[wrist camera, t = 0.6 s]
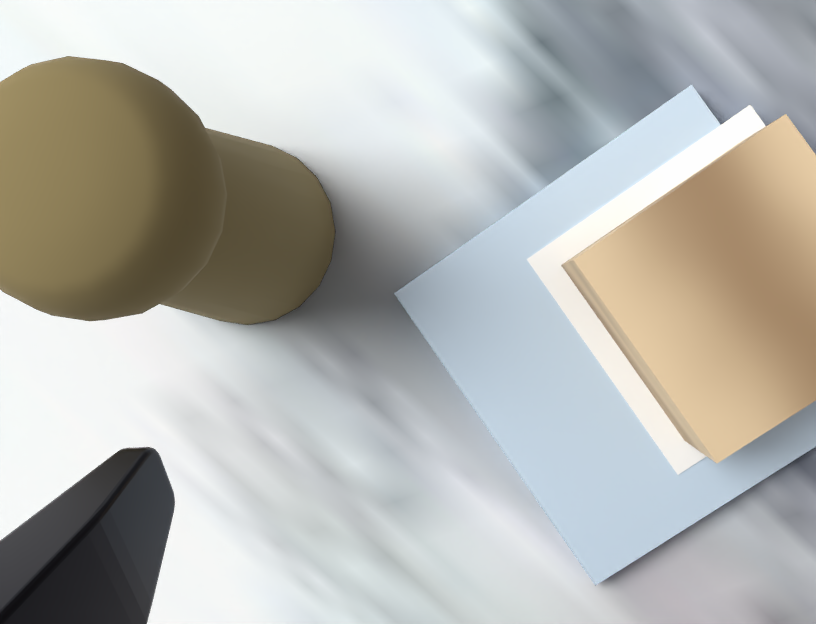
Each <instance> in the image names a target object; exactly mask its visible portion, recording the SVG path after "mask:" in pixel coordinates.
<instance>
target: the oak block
mask: <svg viewBox="0 0 816 624" xmlns="http://www.w3.org/2000/svg"><path fill="white" fill-rule="evenodd" d="M561 266H562V267H563V269H564V270H565V271H566V273H567V274H568V276H569V277H570V279H571V280H572V281H573V283H574V284H575V286H576V287H577V289H578V290H579V291H580V293H581V294H582V296H583V297H584V298H585V300H586V301H587V303H588V304H589V306H590V307H591V308H592V310H593V311H594V313H595V314H596V316H597V317H598V318H599V320H600V321H601V323H602V324H603V325H604V327H605V328H606V330H607V331H608V333H609V334H610V335H611V337H612V338H613V340H614V341H615V343H616V344H617V345H618V347H619V348H620V350H621V351H622V352H623V354H624V355H625V357H626V358H627V360H628V361H629V362H630V364H631V365H632V367H633V368H634V370H635V371H636V372H637V374H638V375H639V377H640V378H641V379H642V381H643V382H644V384H645V385H646V387H647V388H648V389H649V391H650V392H651V394H652V395H653V397H654V398H655V399H656V401H657V402H658V404H659V405H660V406H661V408H662V409H663V411H664V412H665V414H666V415H667V416H668V418H669V419H670V421H671V422H672V424H673V425H674V426H675V428H676V429H677V431H678V432H679V433H680V435H681V436H682V438H683V439H684V441H686V442H687V443H688V444H690V445H691V446H693V447H694V448H696V449H697V450H698V451H700V452H701V453H703V454H704V455H705V456H707V457H708V458H710V459H711V460H713V461H714V462H715V463H719V462H720V461H722V460H723V459H725V458H727V457H728V456H730V455H731V454H733V453H734V452H736V451H737V450H739V449H741V448H742V447H744V446H745V445H747V444H748V443H750V442H752V441H753V440H755V439H756V438H758V437H759V436H761V435H763V434H764V433H766V432H767V431H769V430H770V429H772V428H774V427H775V426H777V425H778V424H780V423H781V422H783V421H784V420H786V419H788V418H789V417H791V416H792V415H794V414H795V413H797V412H799V411H800V410H802V409H803V408H805V407H806V406H808V405H810V404H811V403H813V402H814V401H816V155H815V153H814V152H813V151H812V149H811V148H810V146H809V145H808V144H807V142H806V141H805V140H804V138H803V137H802V135H801V134H800V133H799V131H798V130H797V129H796V127H795V126H794V124H793V123H792V122H791V120H790V119H789V118H788V116H787V115H786V114H785V115H784V116H782V117H780V118H779V119H777V120H775V121H774V122H772V123H771V124H769V125H767V126H766V127H764V128H762V129H761V130H759V131H757V132H756V133H754V134H752V135H751V136H749V137H748V138H746V139H744V140H743V141H741V142H740V143H738V144H737V145H735V146H734V147H733V148H731V149H730V150H728V151H727V152H725V153H724V154H722V155H721V156H719V157H718V158H717V159H715V160H714V161H712V162H711V163H709V164H708V165H706V166H705V167H703V168H702V169H700V170H699V171H698V172H696V173H695V174H693V175H692V176H690V177H689V178H687V179H686V180H684V181H683V182H682V183H680V184H679V185H677V186H676V187H674V188H673V189H671V190H670V191H668V192H667V193H666V194H664V195H663V196H661V197H660V198H658V199H657V200H655V201H654V202H652V203H651V204H650V205H648V206H647V207H645V208H644V209H642V210H641V211H639V212H638V213H636V214H635V215H633V216H632V217H631V218H629V219H628V220H626V221H625V222H623V223H622V224H620V225H619V226H617V227H616V228H615V229H613V230H612V231H610V232H609V233H607V234H606V235H604V236H603V237H601V238H600V239H599V240H597V241H596V242H594V243H593V244H591V245H590V246H588V247H587V248H585V249H584V250H582V251H581V252H580V253H578V254H577V255H575V256H574V257H572V258H571V259H569V260H568V261H566V262H565V263H564V264H562V265H561Z"/></svg>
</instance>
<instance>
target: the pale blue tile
mask: <svg viewBox="0 0 816 624" xmlns="http://www.w3.org/2000/svg"><path fill="white" fill-rule="evenodd" d="M764 127H766V126H765V124H764V123H763V122H762V120H761V119H760V117H759V116H758V115H757V113H756V112H755V111H754V109H753V108H752V106H751V105H749V106H748V107H746V108H745V109H743V110H742V111H740V112H739V113H738V114H736V115H735V116H733V117H732V118H730V119H729V120H727V121H726V122H725V123H723V124H722V125H720V123H719V122H718V120H717V119H716V118H715V116H714V115H713V114H712V112H711V111H710V109H709V108H708V107H707V105H706V104H705V102H704V101H703V100H702V98H701V97H700V96H699V94H698V93H697V91H696V90H695V89H694V87H693V86H692V85H690V86H689V87H688V88H686V89H685V90H683V91H682V92H681V93H679V94H678V95H676V96H675V97H673V98H672V99H671V100H669V101H668V102H666V103H665V104H663V105H662V106H661V107H659V108H658V109H656V110H655V111H653V112H652V113H651V114H649V115H648V116H646V117H645V118H643V119H642V120H641V121H639V122H638V123H636V124H635V125H633V126H632V127H631V128H629V129H628V130H626V131H625V132H623V133H622V134H621V135H619V136H618V137H616V138H615V139H613V140H612V141H611V142H609V143H608V144H606V145H605V146H603V147H602V148H601V149H599V150H598V151H596V152H595V153H593V154H592V155H591V156H589V157H588V158H586V159H585V160H583V161H582V162H581V163H579V164H578V165H576V166H575V167H573V168H572V169H571V170H569V171H568V172H566V173H565V174H563V175H562V176H561V177H559V178H558V179H556V180H555V181H554V182H552V183H551V184H549V185H548V186H546V187H545V188H544V189H542V190H541V191H539V192H538V193H536V194H535V195H534V196H532V197H531V198H529V199H528V200H526V201H525V202H524V203H522V204H521V205H519V206H518V207H516V208H515V209H514V210H512V211H511V212H509V213H508V214H506V215H505V216H504V217H502V218H501V219H499V220H498V221H496V222H495V223H494V224H492V225H491V226H489V227H488V228H486V229H485V230H484V231H482V232H481V233H479V234H478V235H476V236H475V237H474V238H472V239H471V240H469V241H468V242H466V243H465V244H464V245H462V246H461V247H459V248H458V249H456V250H455V251H454V252H452V253H451V254H449V255H448V256H446V257H445V258H444V259H442V260H441V261H439V262H438V263H436V264H435V265H434V266H432V267H431V268H429V269H428V270H427V271H425V272H424V273H422V274H421V275H419V276H418V277H417V278H415V279H414V280H412V281H411V282H409V283H408V284H407V285H405V286H404V287H402V288H401V289H399V290H398V291H397V292H395V293H394V294H395V296H396V297H397V299H398V300H399V302H400V303H401V304H402V306H403V307H404V309H405V310H406V312H407V313H408V315H409V316H410V318H411V319H412V320H413V322H414V323H415V325H416V326H417V328H418V329H419V331H420V332H421V333H422V335H423V336H424V338H425V339H426V341H427V342H428V344H429V345H430V347H431V348H432V349H433V351H434V352H435V354H436V355H437V357H438V358H439V360H440V361H441V362H442V364H443V365H444V367H445V368H446V370H447V371H448V373H449V374H450V376H451V377H452V378H453V380H454V381H455V383H456V384H457V386H458V387H459V389H460V390H461V391H462V393H463V394H464V396H465V397H466V399H467V400H468V402H469V403H470V405H471V406H472V407H473V409H474V410H475V412H476V413H477V415H478V416H479V418H480V419H481V420H482V422H483V423H484V425H485V426H486V428H487V429H488V431H489V432H490V434H491V435H492V436H493V438H494V439H495V441H496V442H497V444H498V445H499V447H500V448H501V449H502V451H503V452H504V454H505V455H506V457H507V458H508V460H509V461H510V463H511V464H512V465H513V467H514V468H515V470H516V471H517V473H518V474H519V476H520V477H521V478H522V480H523V481H524V483H525V484H526V486H527V487H528V489H529V490H530V492H531V493H532V494H533V496H534V497H535V499H536V500H537V502H538V503H539V505H540V506H541V507H542V509H543V510H544V512H545V513H546V515H547V516H548V518H549V519H550V521H551V522H552V523H553V525H554V526H555V528H556V529H557V531H558V532H559V534H560V535H561V536H562V538H563V539H564V541H565V542H566V544H567V545H568V547H569V548H570V550H571V551H572V552H573V554H574V555H575V557H576V558H577V560H578V561H579V563H580V564H581V565H582V567H583V568H584V570H585V571H586V573H587V574H588V576H589V577H590V579H591V580H592V581H593V583H594V584H595V586H596V585H597V584H599V583H600V582H602V581H604V580H605V579H607V578H608V577H610V576H612V575H613V574H615V573H616V572H618V571H619V570H621V569H623V568H624V567H626V566H627V565H629V564H631V563H632V562H634V561H635V560H637V559H638V558H640V557H642V556H643V555H645V554H646V553H648V552H650V551H651V550H653V549H654V548H656V547H657V546H659V545H661V544H662V543H664V542H665V541H667V540H669V539H670V538H672V537H673V536H675V535H676V534H678V533H680V532H681V531H683V530H684V529H686V528H688V527H689V526H691V525H692V524H694V523H695V522H697V521H699V520H700V519H702V518H703V517H705V516H707V515H708V514H710V513H711V512H713V511H714V510H716V509H718V508H719V507H721V506H722V505H724V504H726V503H727V502H729V501H730V500H732V499H733V498H735V497H737V496H738V495H740V494H741V493H743V492H745V491H746V490H748V489H749V488H751V487H753V486H754V485H756V484H757V483H759V482H760V481H762V480H764V479H765V478H767V477H768V476H770V475H772V474H773V473H775V472H776V471H778V470H779V469H781V468H783V467H784V466H786V465H787V464H789V463H791V462H792V461H794V460H795V459H797V458H798V457H800V456H802V455H803V454H805V453H806V452H808V451H810V450H811V449H813V448H814V447H816V401H814V402H813V403H811V404H810V405H808V406H806V407H805V408H803V409H802V410H800V411H799V412H797V413H795V414H794V415H792V416H791V417H789V418H788V419H786V420H784V421H783V422H781V423H780V424H778V425H777V426H775V427H774V428H772V429H770V430H769V431H767V432H766V433H764V434H763V435H761V436H759V437H758V438H756V439H755V440H753V441H752V442H750V443H748V444H747V445H745V446H744V447H742V448H741V449H739V450H737V451H736V452H734V453H733V454H731V455H730V456H728V457H727V458H725V459H723V460H722V461H720V462H719V463H715V462H714V461H713V460H711V459H710V458H708V457H707V456H705V455H704V454H703V453H701V452H700V451H698V450H697V449H696V448H694V447H693V446H691V445H690V444H688V443H687V442H686V441H684V439H683V438H682V436H681V435H680V433H679V432H678V431H677V429H676V428H675V426H674V425H673V424H672V422H671V421H670V419H669V418H668V416H667V415H666V414H665V412H664V411H663V409H662V408H661V406H660V405H659V404H658V402H657V401H656V399H655V398H654V397H653V395H652V394H651V392H650V391H649V389H648V388H647V387H646V385H645V384H644V382H643V381H642V379H641V378H640V377H639V375H638V374H637V372H636V371H635V370H634V368H633V367H632V365H631V364H630V362H629V361H628V360H627V358H626V357H625V355H624V354H623V352H622V351H621V350H620V348H619V347H618V345H617V344H616V343H615V341H614V340H613V338H612V337H611V335H610V334H609V333H608V331H607V330H606V328H605V327H604V325H603V324H602V323H601V321H600V320H599V318H598V317H597V316H596V314H595V313H594V311H593V310H592V308H591V307H590V306H589V304H588V303H587V301H586V300H585V298H584V297H583V296H582V294H581V293H580V291H579V290H578V289H577V287H576V286H575V284H574V283H573V281H572V280H571V279H570V277H569V276H568V274H567V273H566V271H565V270H564V269H563V267H562V266H561V265H562V264H564V263H565V262H566V261H568V260H569V259H571V258H572V257H574V256H575V255H577V254H578V253H580V252H581V251H582V250H584V249H585V248H587V247H588V246H590V245H591V244H593V243H594V242H596V241H597V240H599V239H600V238H601V237H603V236H604V235H606V234H607V233H609V232H610V231H612V230H613V229H615V228H616V227H617V226H619V225H620V224H622V223H623V222H625V221H626V220H628V219H629V218H631V217H632V216H633V215H635V214H636V213H638V212H639V211H641V210H642V209H644V208H645V207H647V206H648V205H650V204H651V203H652V202H654V201H655V200H657V199H658V198H660V197H661V196H663V195H664V194H666V193H667V192H668V191H670V190H671V189H673V188H674V187H676V186H677V185H679V184H680V183H682V182H683V181H684V180H686V179H687V178H689V177H690V176H692V175H693V174H695V173H696V172H698V171H699V170H700V169H702V168H703V167H705V166H706V165H708V164H709V163H711V162H712V161H714V160H715V159H717V158H718V157H719V156H721V155H722V154H724V153H725V152H727V151H728V150H730V149H731V148H733V147H734V146H735V145H737V144H738V143H740V142H741V141H743V140H744V139H746V138H748V137H749V136H751V135H752V134H754V133H756V132H757V131H759V130H761V129H762V128H764Z"/></svg>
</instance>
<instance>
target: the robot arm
mask: <svg viewBox="0 0 816 624" xmlns="http://www.w3.org/2000/svg"><path fill="white" fill-rule="evenodd" d="M174 506H175V498H174V493H173V489H172V487H171V484H170V481H169V479H168V476H167V473H166V471H165V468H164V466H163V463H162V460H161V458H160V455H159V453H158V452H157V451H156V450H155V449H154V448H150V447H139V448H125V449H121V450H120V451H118V452H117V453H115V454H114V455H113V456H111V457H110V458H109V459H107V460H106V461H105V462H103V463H102V464H101V465H99V466H98V467H97V468H95V469H94V470H93V471H91V472H90V473H89V474H87V475H86V476H85V477H84V478H82V479H81V480H80V481H78V482H77V483H76V484H74V485H73V486H72V487H70V488H69V489H68V490H66V491H65V492H64V493H62V494H61V495H60V496H58V497H57V498H56V499H55V500H53V501H52V502H51V503H49V504H48V505H47V506H45V507H44V508H43V509H41V510H40V511H39V512H37V513H36V514H35V515H33V516H32V517H31V518H29V519H28V520H27V521H26V522H24V523H23V524H22V525H20V526H19V527H18V528H16V529H15V530H14V531H12V532H11V533H10V534H8V535H7V536H6V537H4V538H3V539H2V540H0V624H147V621H148V617H149V613H150V609H151V606H152V602H153V598H154V593H155V589H156V585H157V581H158V576H159V572H160V568H161V564H162V559H163V555H164V551H165V547H166V543H167V538H168V534H169V530H170V526H171V521H172V517H173V513H174Z"/></svg>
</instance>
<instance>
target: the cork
mask: <svg viewBox="0 0 816 624" xmlns="http://www.w3.org/2000/svg"><path fill="white" fill-rule="evenodd" d="M334 237H335V227H334V221H333V215H332V210H331V204H330V201H329V199H328V198H327V196H326V194H325V192H324V190H323V188H322V186H321V184H320V182H319V180H318V178H317V177H316V176H315V175H314V174H313V173H312V172H311V171H310V170H309V169H308V168H307V167H306V166H305V165H304V164H303V163H302V162H300V161H299V160H298V159H297V158H296V157H294V156H292V155H290V154H288V153H286V152H284V151H282V150H279V149H277V148H275V147H273V146H271V145H267V144H263V143H260V142H256V141H252V140H248V139H245V138H241V137H237V136H233V135H230V134H226V133H222V132H219V131H215V130H211V129H207V128H205V127H204V125H203V123H202V122H201V120H200V118H199V116H198V115H197V114H196V113H195V112H194V111H193V110H192V109H191V108H190V107H189V106H188V105H187V104H186V103H185V102H184V101H182V100H181V99H180V98H179V97H178V96H177V95H176V94H175V93H174V92H173V91H172V90H171V89H170V88H168V87H167V86H166V85H164V84H163V83H161V82H160V81H159V80H157V79H155V78H153V77H150V76H148V75H146V74H144V73H142V72H140V71H138V70H136V69H134V68H132V67H130V66H128V65H125V64H123V63H118V62H112V61H106V60H97V59H89V58H80V57H71V56H67V57H62V58H58V59H53V60H49V61H44V62H40V63H36V64H31V65H29V66H27V67H25V68H23V69H21V70H19V71H18V72H16V73H14V74H13V75H11V76H10V77H8V78H6V79H5V80H3V81H1V82H0V289H1V290H2V291H3V292H4V293H6V294H8V295H10V296H12V297H14V298H16V299H18V300H20V301H21V302H23V303H25V304H27V305H29V306H31V307H33V308H35V309H37V310H39V311H42V312H45V313H47V314H50V315H53V316H60V317H66V318H73V319H79V320H85V321H98V320H107V319H113V318H119V317H124V316H130V315H135V314H141V313H144V312H145V311H147V310H149V309H151V308H153V307H154V306H156V305H158V304H162V305H165V306H169V307H173V308H176V309H180V310H183V311H187V312H191V313H194V314H198V315H201V316H205V317H209V318H212V319H216V320H219V321H225V322H232V323H238V324H245V325H249V324H255V323H261V322H266V321H272V320H276V319H278V318H279V317H281V316H283V315H285V314H287V313H289V312H290V311H292V310H294V309H296V308H298V307H300V305H301V304H302V303H303V302H304V301H305V300H306V299H307V298H308V297H309V296H310V295H311V294H312V293H313V292H314V291H315V290H316V289H317V288H318V286H319V285H320V283H321V281H322V279H323V276H324V274H325V272H326V270H327V268H328V266H329V264H330V262H331V259H332V251H333V244H334Z"/></svg>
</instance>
